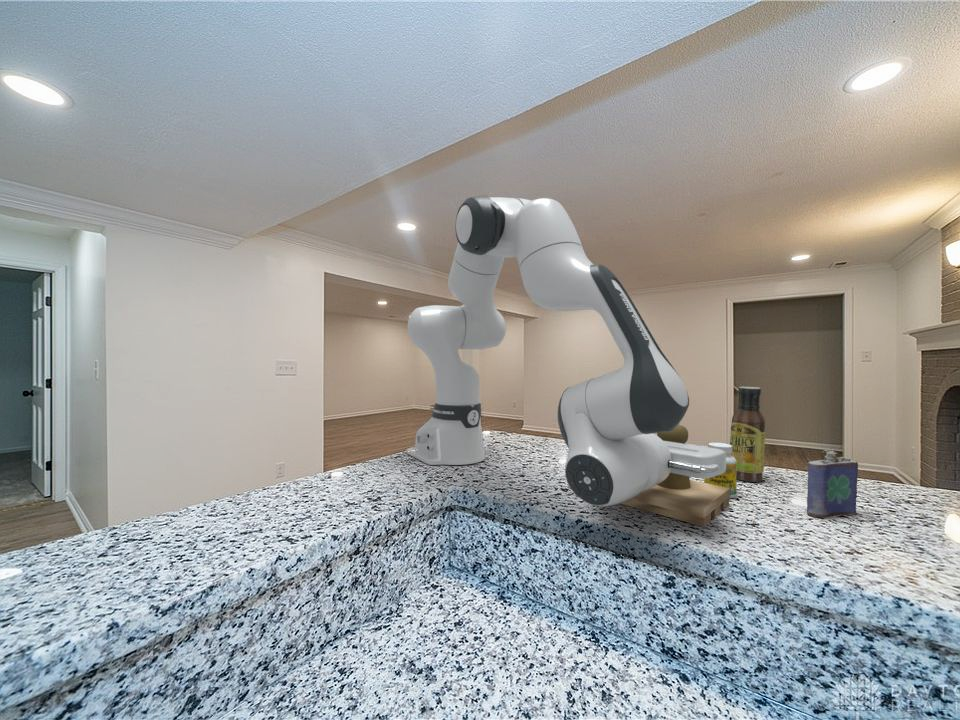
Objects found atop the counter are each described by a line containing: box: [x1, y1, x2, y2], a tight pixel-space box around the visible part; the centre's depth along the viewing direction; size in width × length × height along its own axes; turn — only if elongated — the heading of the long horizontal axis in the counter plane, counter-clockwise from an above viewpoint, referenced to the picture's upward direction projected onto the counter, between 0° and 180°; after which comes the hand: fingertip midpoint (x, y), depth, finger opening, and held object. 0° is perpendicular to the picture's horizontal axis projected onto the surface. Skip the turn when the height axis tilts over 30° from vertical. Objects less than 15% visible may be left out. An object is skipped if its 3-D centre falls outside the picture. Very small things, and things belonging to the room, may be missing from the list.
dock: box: [620, 479, 730, 528], centre depth 74 cm, size 16×14×3 cm
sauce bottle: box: [729, 386, 766, 483], centre depth 88 cm, size 6×6×20 cm
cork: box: [656, 424, 691, 490], centre depth 75 cm, size 6×6×11 cm
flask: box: [806, 449, 859, 519], centre depth 69 cm, size 9×3×11 cm, turn 102°
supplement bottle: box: [703, 442, 737, 499], centre depth 78 cm, size 5×5×10 cm
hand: (673, 445), depth 75 cm, fingers open, 8 cm apart
